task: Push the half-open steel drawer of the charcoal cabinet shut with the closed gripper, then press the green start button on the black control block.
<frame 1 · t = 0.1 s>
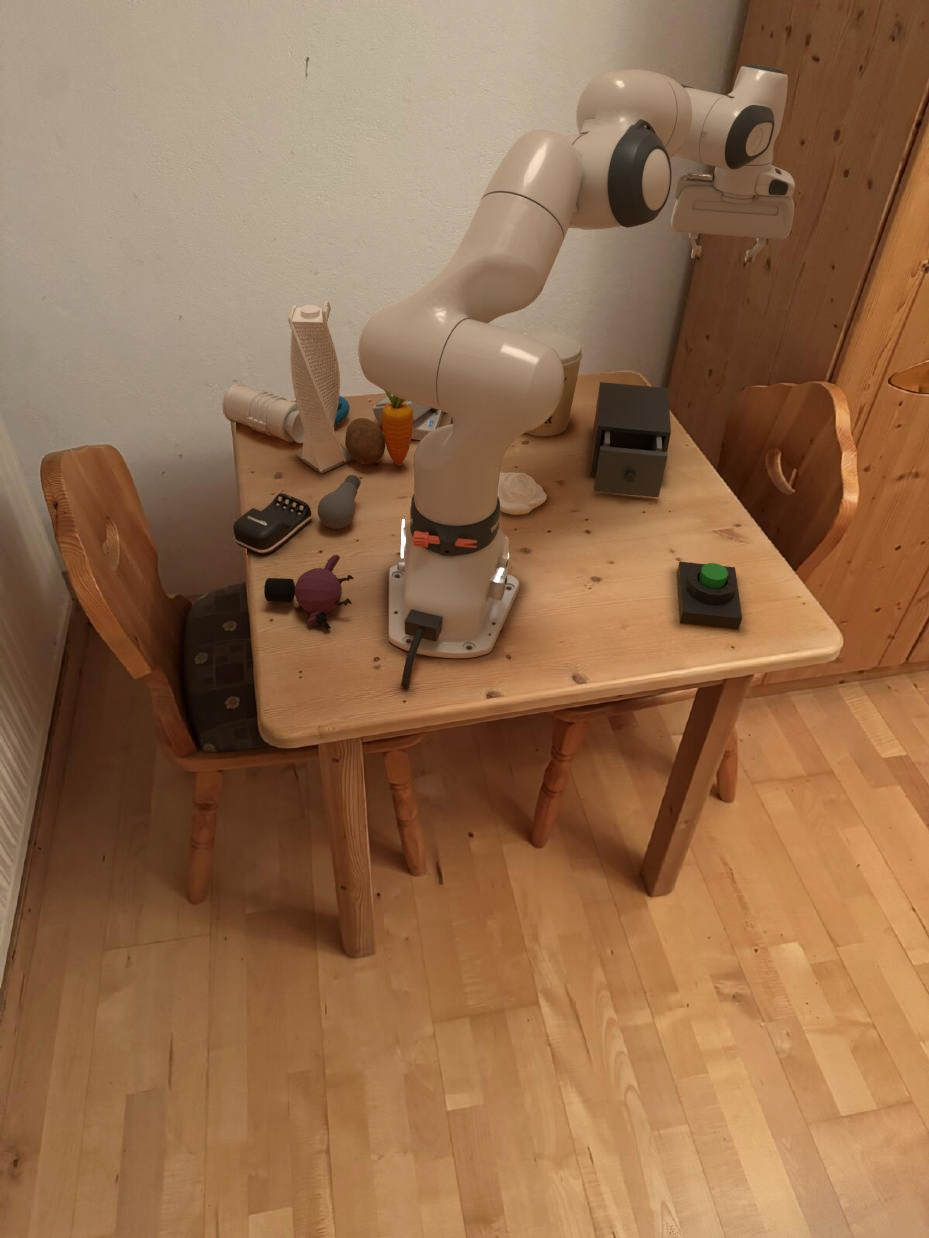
hand: (722, 259, 158), 23 cm above the table, tool pointing down, fingers open, 8 cm apart
skyscraper: (325, 461, 150), on the table
carrot: (398, 467, 149), on the table
potato: (361, 425, 146), point 6 cm above the table
start button: (713, 576, 123), point 5 cm above the table, slide at 0.2 cm
ink cartridge box: (440, 421, 158), point 1 cm above the table, touching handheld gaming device
battery charger: (296, 502, 138), point 2 cm above the table
drawer: (629, 453, 145), point 5 cm above the table, slide at 4.5 cm
ornament: (343, 417, 156), point 2 cm above the table
stone: (452, 401, 155), point 5 cm above the table
rose: (516, 500, 143), on the table
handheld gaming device: (388, 409, 152), point 5 cm above the table, touching ink cartridge box
control block: (706, 600, 126), on the table
figurine: (266, 588, 122), point 2 cm above the table
white ribbed cylinder: (304, 426, 151), point 4 cm above the table
light bulb: (356, 476, 139), point 5 cm above the table
coffee cup: (541, 423, 161), on the table
cabinet: (625, 455, 153), on the table
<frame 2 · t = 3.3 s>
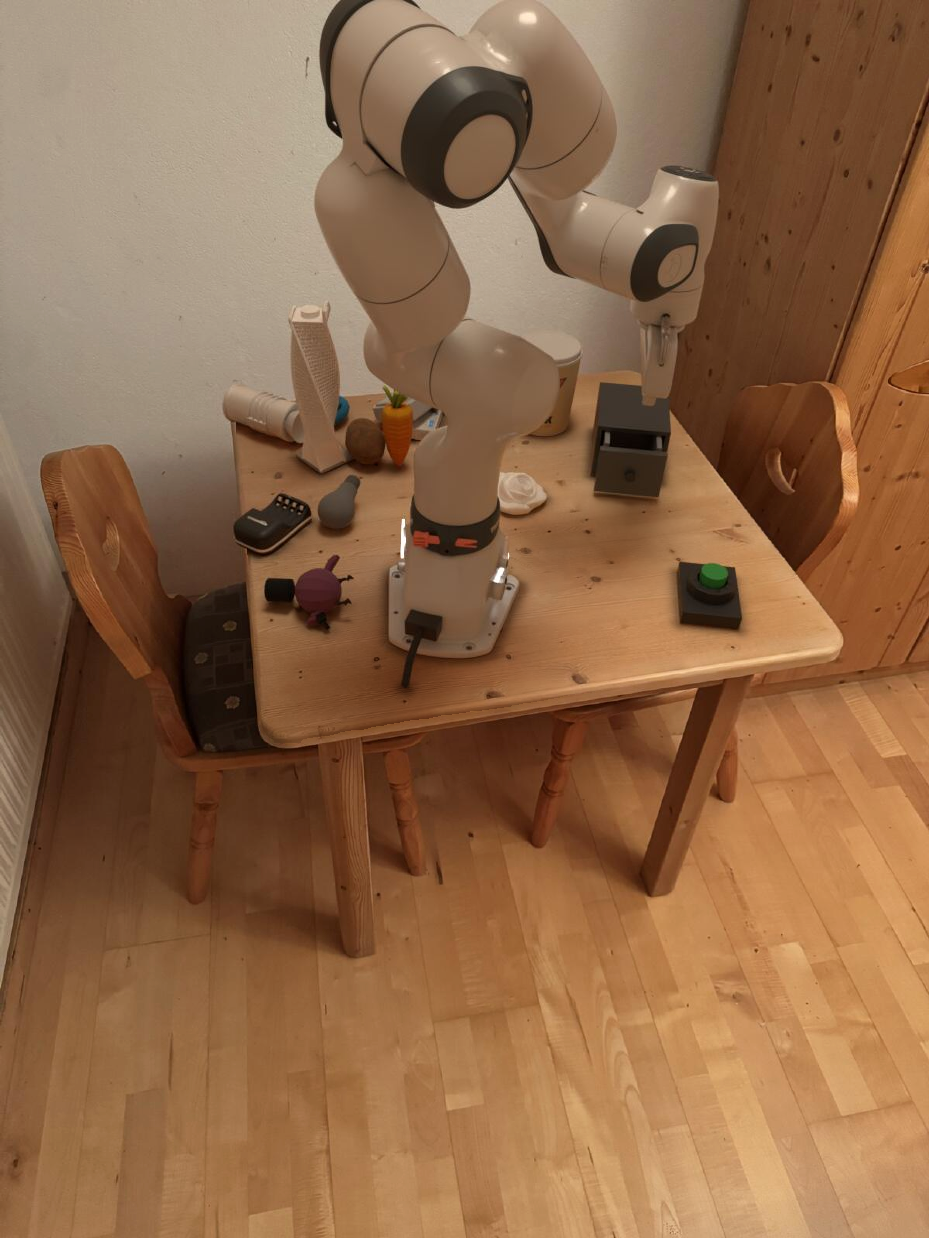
hand: (647, 395, 126), 21 cm above the table, tool pointing down, fingers open, 3 cm apart
nothing on the table moved.
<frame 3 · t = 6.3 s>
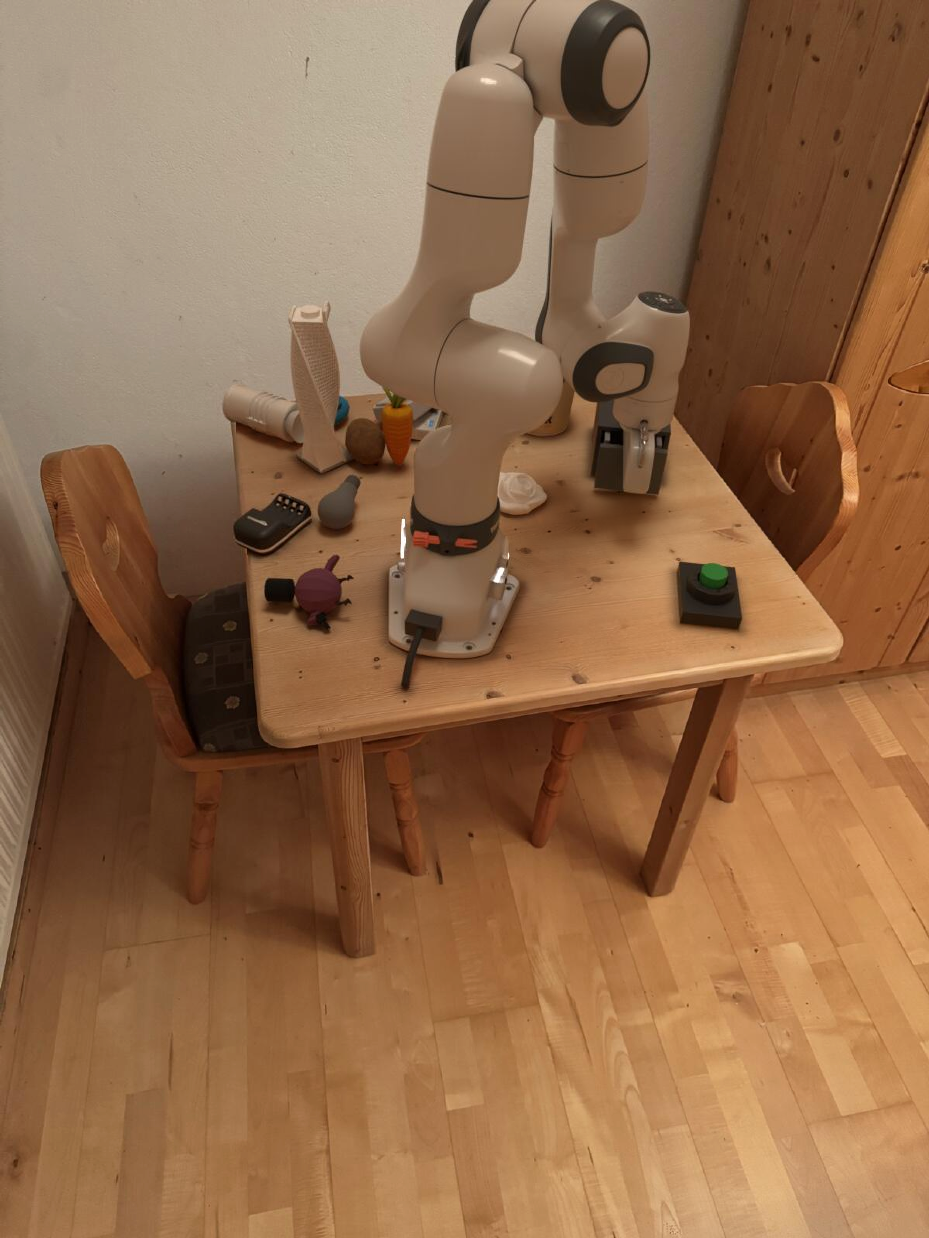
hand: (629, 483, 140), 4 cm above the table, tool pointing down, fingers closed
drawer: (629, 450, 146), point 5 cm above the table, slide at 3.7 cm, touching gripper
everything else where it was.
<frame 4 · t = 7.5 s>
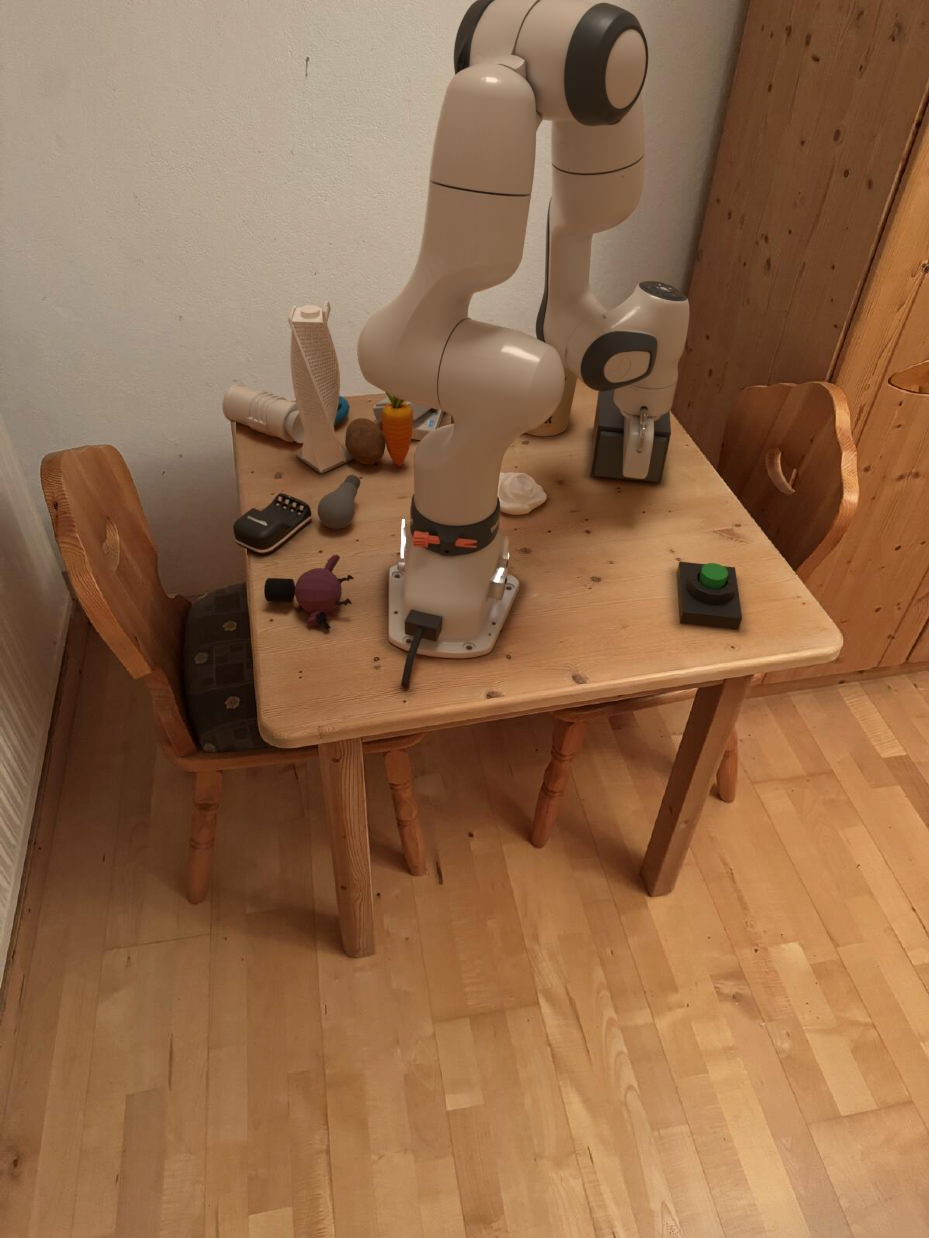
hand: (629, 470, 143), 4 cm above the table, tool pointing down, fingers closed
drawer: (629, 438, 148), point 5 cm above the table, slide at 0.0 cm, touching cabinet, gripper
everything else where it was.
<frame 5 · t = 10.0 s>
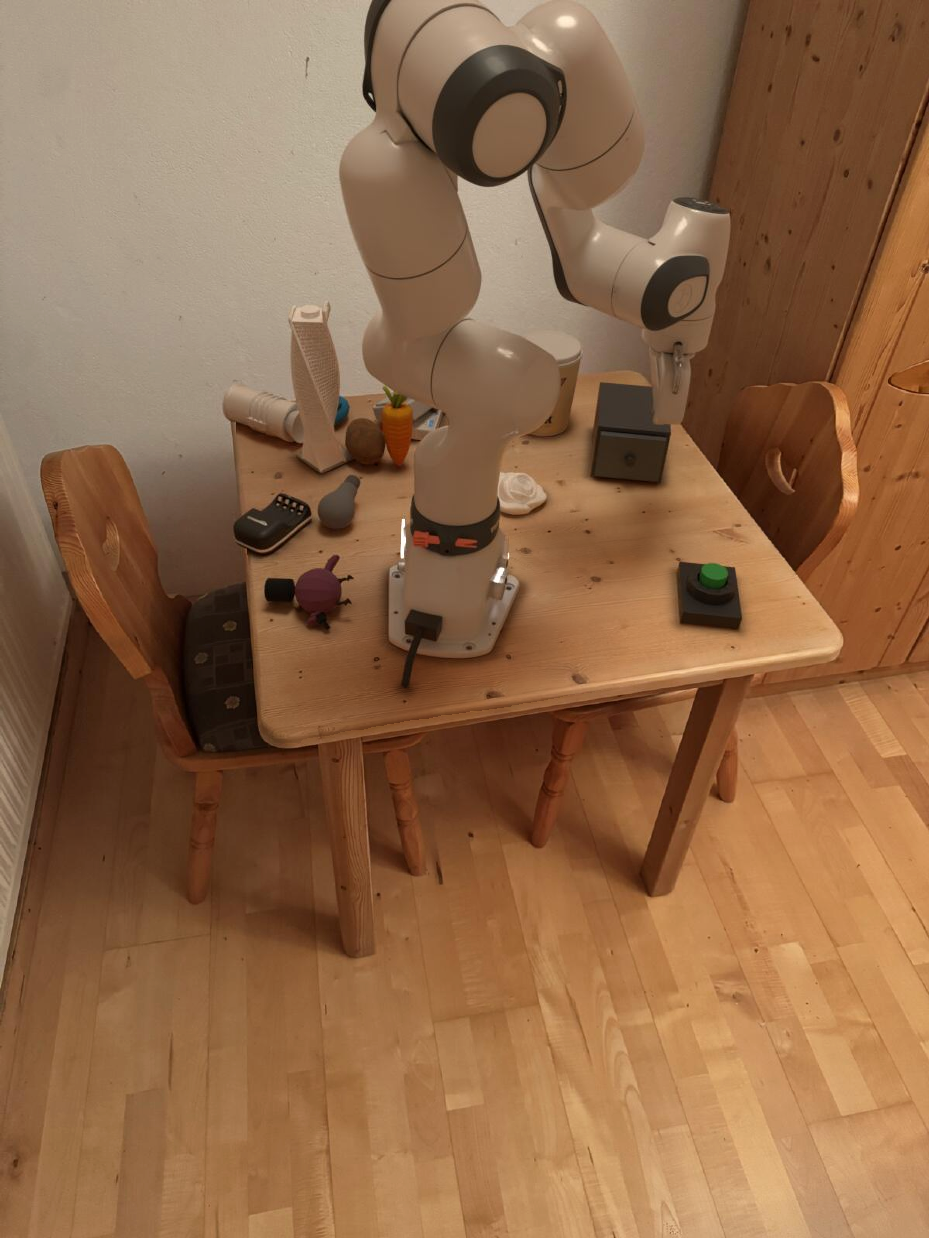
hand: (658, 419, 128), 18 cm above the table, tool pointing down, fingers closed
drawer: (629, 438, 148), point 5 cm above the table, slide at 0.0 cm
everything else where it was.
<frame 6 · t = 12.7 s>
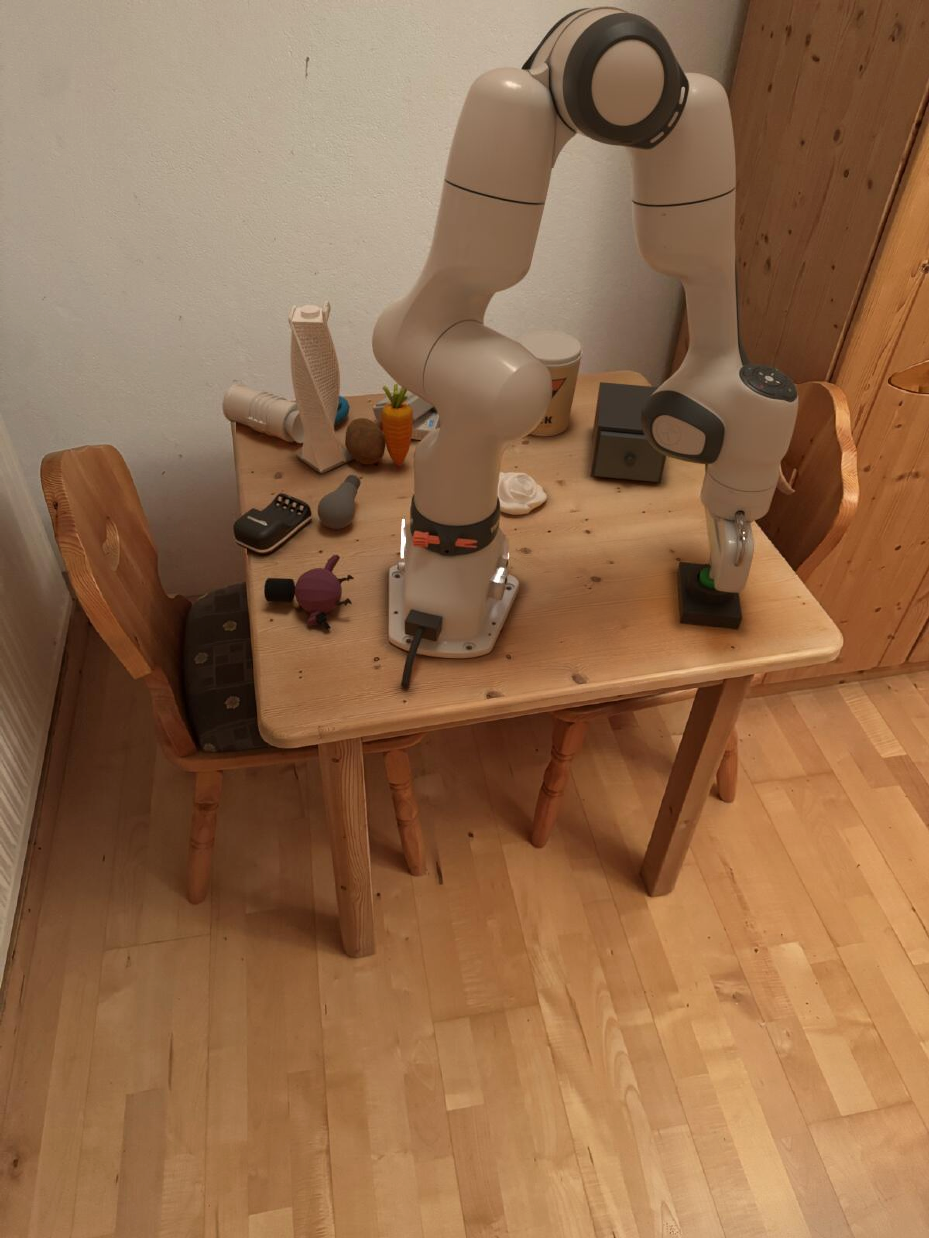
hand: (714, 573, 123), 5 cm above the table, tool pointing down, fingers closed, pressing on start button
start button: (712, 580, 124), point 4 cm above the table, slide at -0.7 cm, touching gripper
everything else where it was.
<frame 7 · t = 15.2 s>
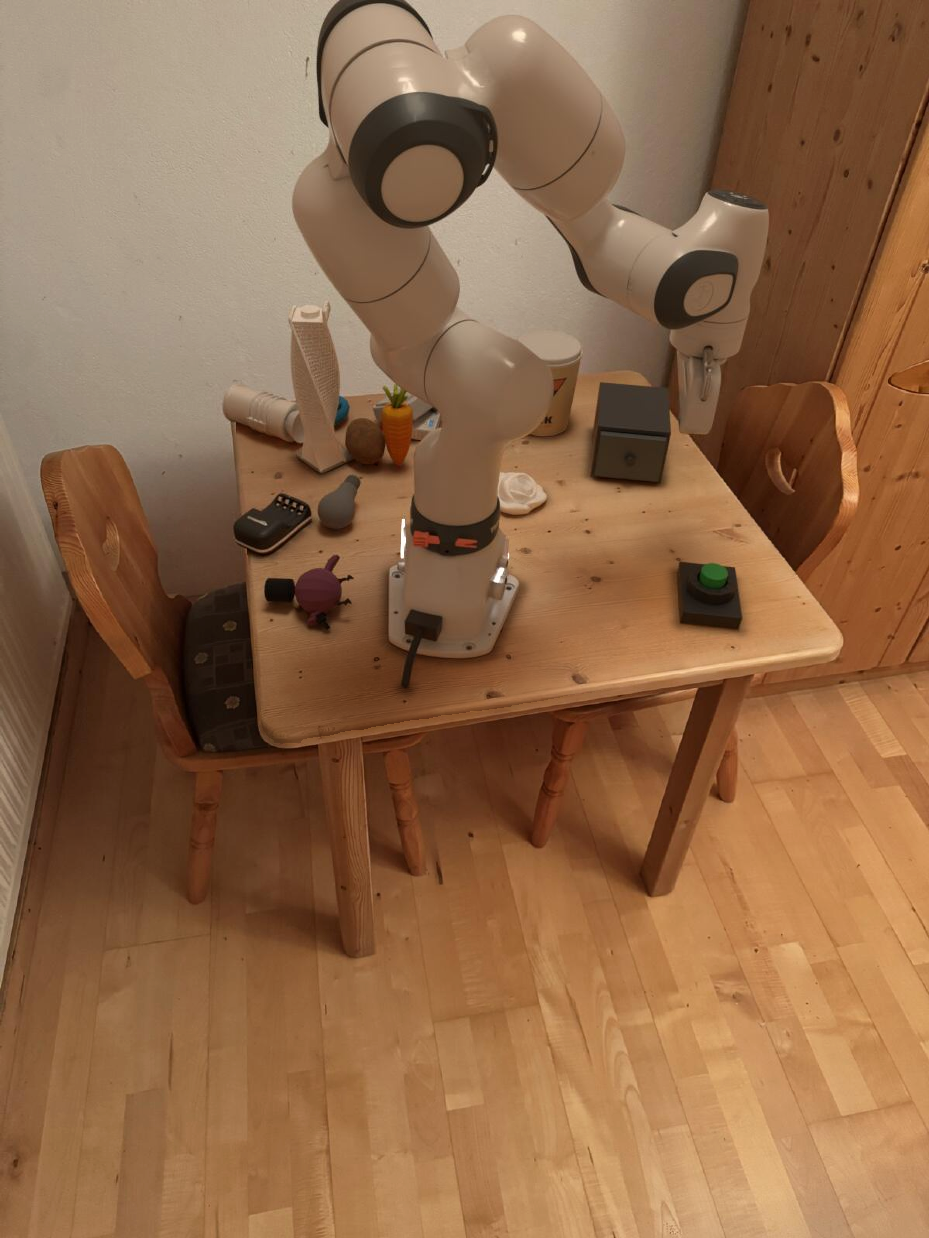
hand: (684, 428, 120), 21 cm above the table, tool pointing down, fingers closed
start button: (713, 576, 123), point 5 cm above the table, slide at 0.1 cm
everything else where it was.
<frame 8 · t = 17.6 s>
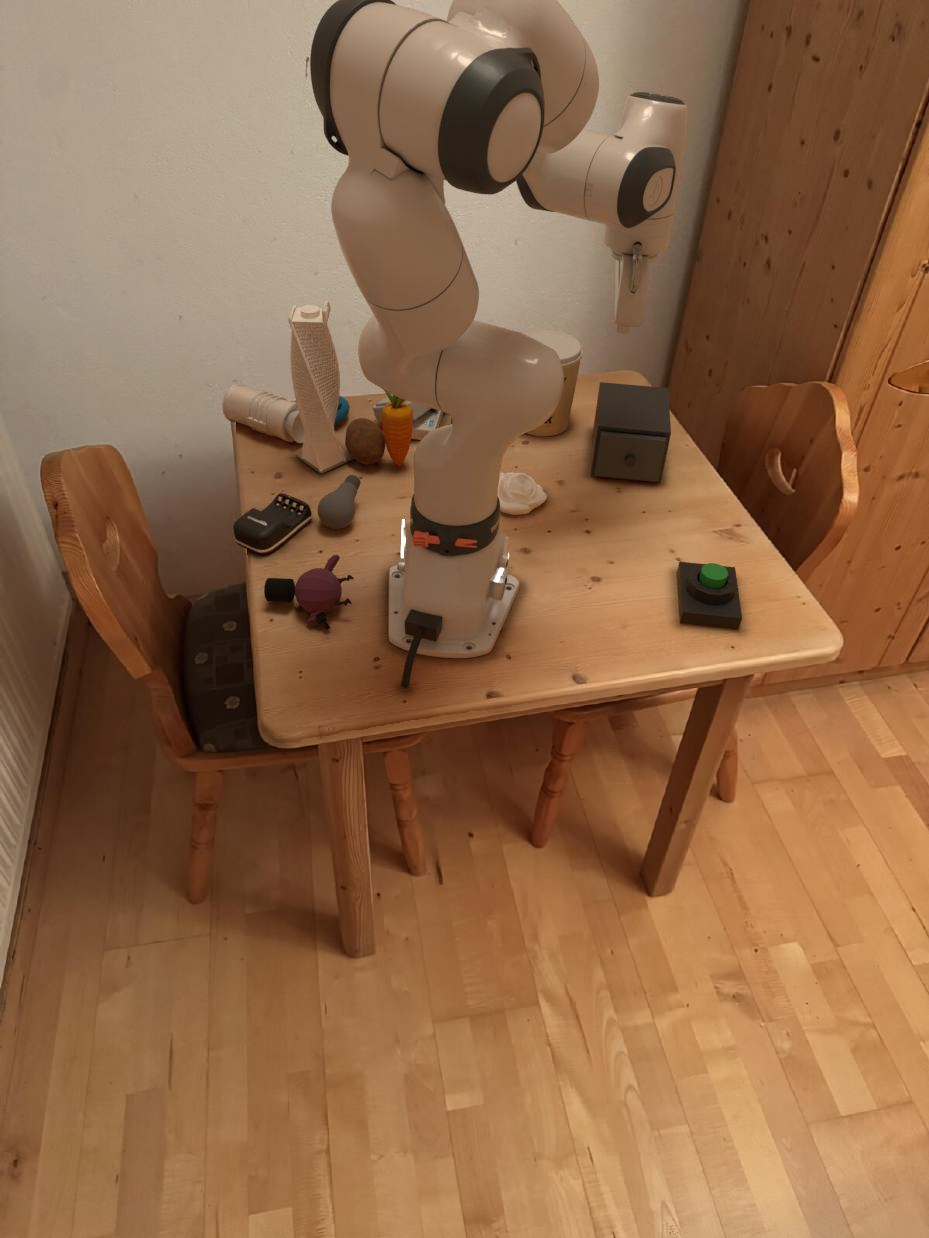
hand: (622, 329, 128), 27 cm above the table, tool pointing down, fingers closed
nothing on the table moved.
at the end: drawer slide at 0.0 cm; start button pushed in 1.1 cm at the most during the clip, back to where it started at the end; start button slide at 0.1 cm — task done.
